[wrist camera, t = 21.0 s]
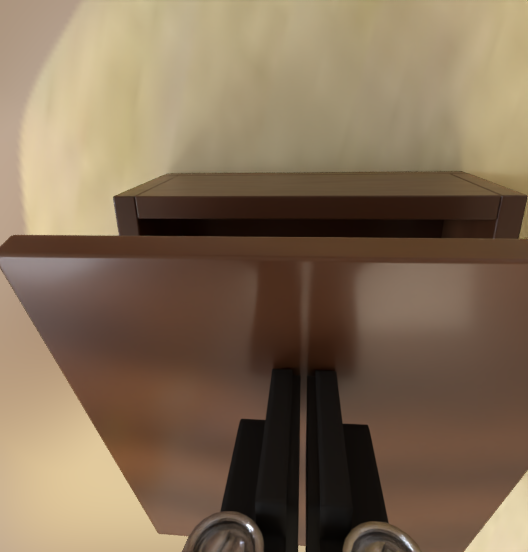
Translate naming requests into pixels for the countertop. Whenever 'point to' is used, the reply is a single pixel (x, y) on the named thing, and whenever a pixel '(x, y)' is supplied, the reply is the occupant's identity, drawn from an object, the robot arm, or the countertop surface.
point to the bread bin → (321, 206)
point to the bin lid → (293, 359)
